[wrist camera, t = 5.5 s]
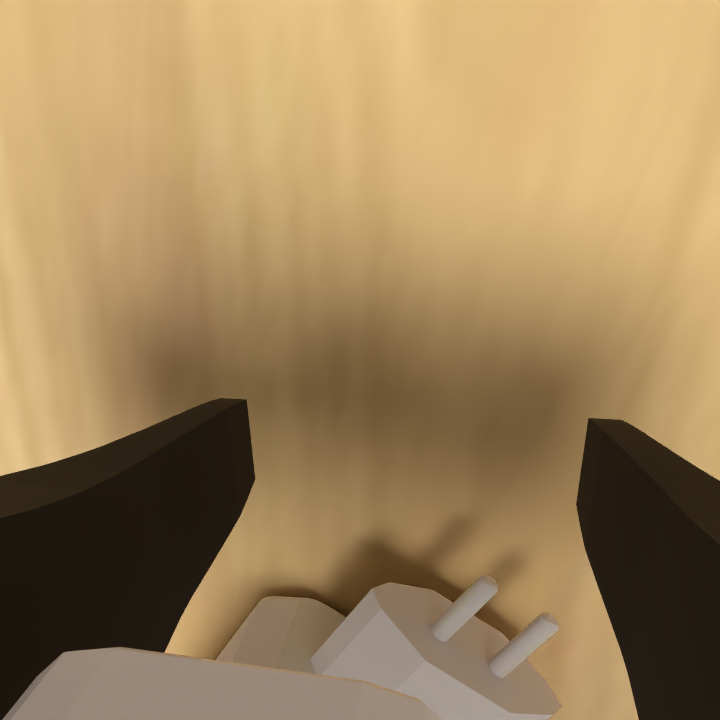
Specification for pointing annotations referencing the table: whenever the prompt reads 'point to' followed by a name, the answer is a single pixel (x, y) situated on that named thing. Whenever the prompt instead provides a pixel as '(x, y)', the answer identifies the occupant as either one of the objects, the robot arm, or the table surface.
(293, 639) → the charger
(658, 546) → the robot arm
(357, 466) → the table surface
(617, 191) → the table surface
